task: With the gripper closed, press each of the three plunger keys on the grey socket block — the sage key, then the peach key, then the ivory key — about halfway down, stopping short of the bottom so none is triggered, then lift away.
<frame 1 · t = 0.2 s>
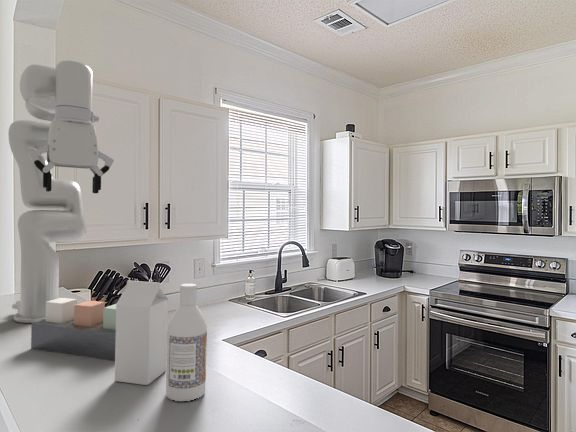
hand: (72, 192, 92), 37 cm above the worktop, tool pointing down, fingers open, 9 cm apart
peach key: (89, 316, 94), point 8 cm above the worktop, slide at 0.0 cm
milk carton: (141, 377, 79), on the worktop
ivory key: (61, 312, 96), point 8 cm above the worktop, slide at 0.0 cm
bath foam: (185, 395, 73), on the worktop
sage key: (118, 319, 92), point 7 cm above the worktop, slide at 0.0 cm
grey socket block: (88, 347, 94), on the worktop
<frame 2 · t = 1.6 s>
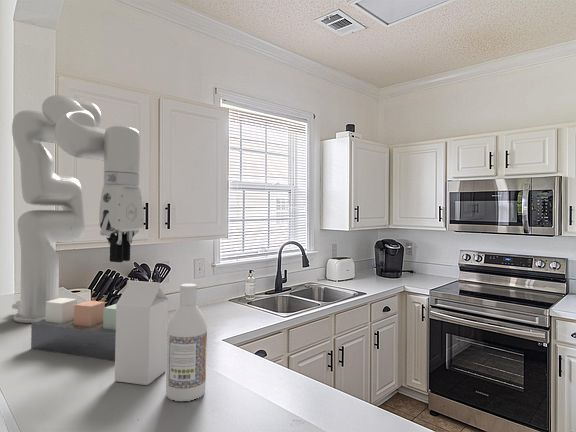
hand: (119, 260, 92), 21 cm above the worktop, tool pointing down, fingers closed
nothing on the worktop moved.
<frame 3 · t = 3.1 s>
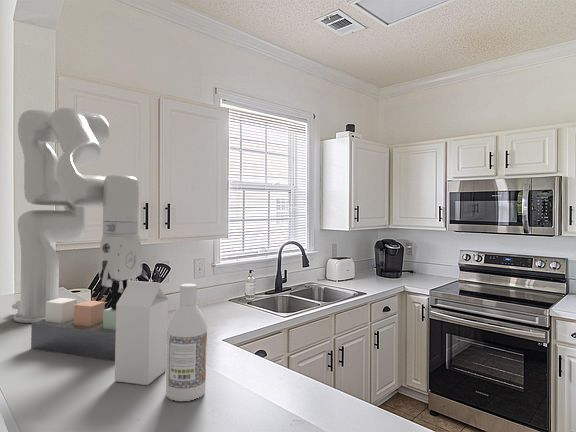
hand: (119, 308, 92), 10 cm above the worktop, tool pointing down, fingers closed
sage key: (118, 321, 92), point 7 cm above the worktop, slide at 0.5 cm, touching gripper
everything else where it was.
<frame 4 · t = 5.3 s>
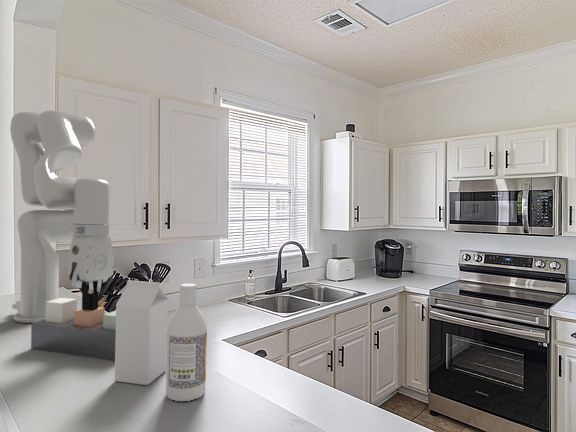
hand: (90, 309, 94), 9 cm above the worktop, tool pointing down, fingers closed
peach key: (89, 321, 94), point 6 cm above the worktop, slide at 1.3 cm, touching gripper
sage key: (118, 326, 92), point 6 cm above the worktop, slide at 1.6 cm
everything else where it was.
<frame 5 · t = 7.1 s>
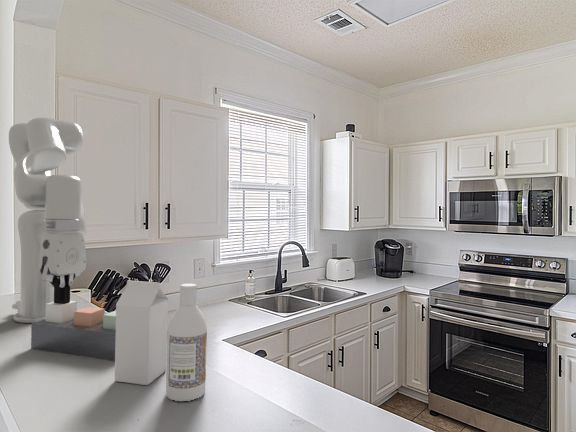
hand: (61, 302, 96), 10 cm above the worktop, tool pointing down, fingers closed
peach key: (89, 322, 94), point 6 cm above the worktop, slide at 1.6 cm
ivory key: (61, 315, 96), point 7 cm above the worktop, slide at 0.5 cm, touching gripper
everything else where it was.
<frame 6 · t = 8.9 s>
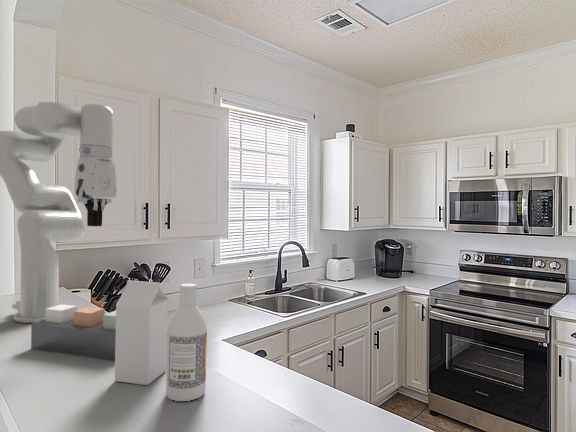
hand: (94, 225, 102), 28 cm above the worktop, tool pointing down, fingers closed
ivory key: (61, 319, 96), point 6 cm above the worktop, slide at 1.7 cm
everything else where it was.
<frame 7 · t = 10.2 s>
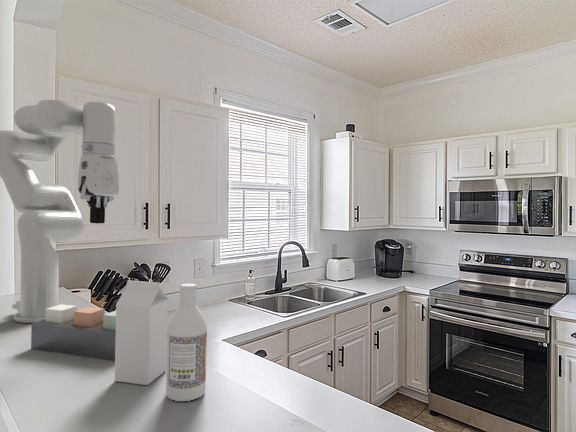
hand: (97, 223, 103), 29 cm above the worktop, tool pointing down, fingers closed
nothing on the worktop moved.
at the end: sage key slide at 1.6 cm; peach key slide at 1.6 cm; ivory key slide at 1.7 cm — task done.
